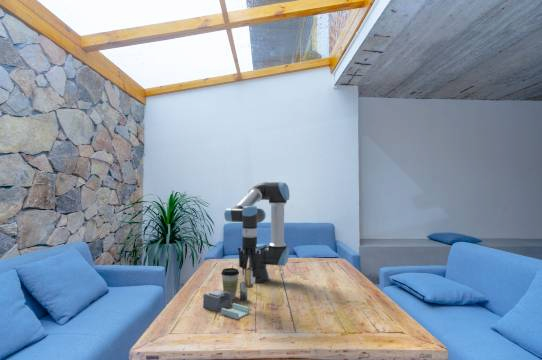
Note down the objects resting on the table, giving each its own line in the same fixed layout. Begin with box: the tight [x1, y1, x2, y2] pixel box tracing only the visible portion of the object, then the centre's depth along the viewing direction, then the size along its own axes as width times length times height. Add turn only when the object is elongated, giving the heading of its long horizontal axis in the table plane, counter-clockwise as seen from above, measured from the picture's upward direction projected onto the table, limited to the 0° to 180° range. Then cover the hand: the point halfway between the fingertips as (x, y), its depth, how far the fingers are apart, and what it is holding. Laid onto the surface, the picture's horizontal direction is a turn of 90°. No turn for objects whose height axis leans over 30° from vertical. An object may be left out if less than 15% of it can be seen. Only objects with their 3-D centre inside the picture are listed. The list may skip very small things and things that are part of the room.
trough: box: [220, 302, 251, 320], centre depth 151 cm, size 9×10×3 cm
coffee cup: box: [221, 267, 240, 300], centre depth 174 cm, size 10×10×15 cm
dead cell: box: [239, 281, 248, 302], centre depth 170 cm, size 4×4×10 cm
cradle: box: [202, 288, 232, 313], centre depth 160 cm, size 10×10×6 cm
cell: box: [245, 266, 254, 289], centre depth 160 cm, size 4×4×10 cm
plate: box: [208, 289, 226, 297], centre depth 160 cm, size 6×6×2 cm
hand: (249, 282), depth 160 cm, fingers closed on cell, 4 cm apart
